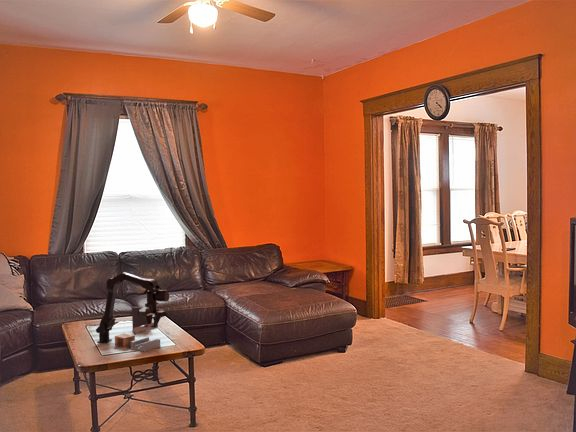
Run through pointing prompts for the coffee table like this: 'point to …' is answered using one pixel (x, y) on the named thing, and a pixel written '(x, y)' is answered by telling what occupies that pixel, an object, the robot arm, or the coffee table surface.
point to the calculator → (137, 317)
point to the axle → (143, 328)
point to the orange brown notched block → (124, 340)
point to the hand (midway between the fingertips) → (152, 327)
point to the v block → (145, 344)
